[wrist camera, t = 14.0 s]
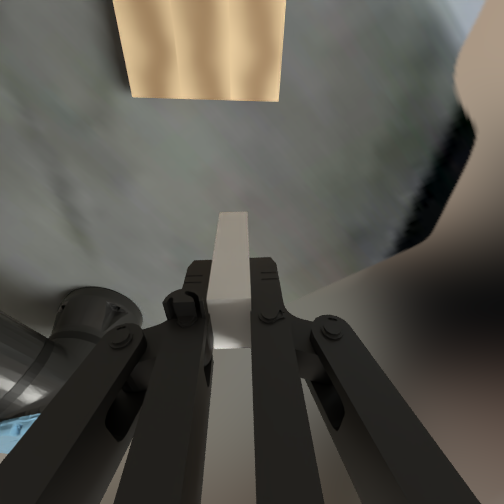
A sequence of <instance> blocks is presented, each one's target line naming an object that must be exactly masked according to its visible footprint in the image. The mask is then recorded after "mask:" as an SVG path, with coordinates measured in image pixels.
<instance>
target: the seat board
mask: <svg viewBox="0 0 504 504" xmlns="http://www.w3.org/2000/svg"><path fill="white" fill-rule="evenodd" d="M113 5H114V10H115V15H116V19H117V24H118V29H119V34H120V39H121V44H122V49H123V54H124V58H125V63H126V68H127V73H128V78H129V83H130V88H131V93H132V97H143V98H176V99H209V100H241V101H274V102H278V100H279V87H280V74H281V60H282V47H283V34H284V21H285V7H286V0H113Z"/></svg>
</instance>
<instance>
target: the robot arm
mask: <svg viewBox="0 0 504 504" xmlns="http://www.w3.org/2000/svg"><path fill="white" fill-rule="evenodd" d="M163 307H164V310H165V313H166V317H167V321H165V322H163V323H161V324H159V325H156V326H153V327H150V328H146V329H143V330H142V329H141V325H142V321H143V319H142V314H141V312H140V310H139V308H138V307H137V306H136V305H135V304H134V303H133V302H132V301H131V300H130V299H128V298H127V297H125V296H123V295H121V294H119V293H117V292H115V291H112V290H108V289H104V288H97V287H87V288H81V289H77V290H75V291H73V292H71V293H70V294H69V295H68V296H67V297H66V298H65V300H64V301H63V302H62V303H61V305H60V307H59V309H58V313H57V316H56V320H55V323H54V327H53V330H52V334H51V336H50V337H49V338H46V337H45V336H43V335H41V334H39V333H38V332H36V331H34V330H32V329H31V328H29V327H27V326H25V325H24V324H22V323H20V322H18V321H17V320H15V319H13V318H12V317H10V316H8V315H7V314H5V313H3V312H2V311H0V453H6V454H8V455H7V456H6V457H5V459H4V460H3V461H2V462H1V464H0V504H100V502H101V500H102V498H103V496H104V494H105V492H106V490H107V488H108V486H109V484H110V482H111V480H112V478H113V476H114V474H115V472H116V470H117V468H118V466H119V464H120V462H121V460H122V458H123V456H124V454H125V452H126V450H127V448H128V446H129V444H130V442H131V440H132V442H131V446H130V449H129V453H128V456H127V460H126V463H125V466H124V470H123V473H122V476H121V480H120V483H119V487H118V490H117V493H116V497H115V500H114V504H201V494H202V484H203V472H204V461H205V451H206V440H207V439H206V438H207V429H208V418H209V407H210V397H211V385H212V375H213V363H214V362H213V355H212V352H213V344H214V349H228V348H251V352H252V353H251V355H252V386H253V414H254V444H255V476H256V504H324V499H323V494H322V489H321V484H320V478H319V473H318V468H317V463H316V457H315V453H314V447H313V442H312V436H311V431H310V426H309V421H308V415H307V410H306V405H305V400H304V394H303V389H302V384H301V379H300V378H304V379H305V381H306V383H307V385H308V387H309V389H310V392H311V394H312V396H313V398H314V400H315V402H316V405H317V407H318V409H319V411H320V413H321V415H322V418H323V420H324V422H325V424H326V426H327V429H328V431H329V433H330V435H331V437H332V439H333V442H334V444H335V446H336V448H337V450H338V452H339V455H340V457H341V459H342V461H343V463H344V466H345V468H346V470H347V472H348V474H349V476H350V479H351V481H352V483H353V485H354V487H355V489H356V492H357V494H358V496H359V498H360V500H361V503H362V504H481V503H480V502H479V501H478V499H477V498H476V496H475V495H474V494H473V492H472V491H471V490H470V488H469V487H468V486H467V484H466V483H465V482H464V480H463V479H462V478H461V476H460V475H459V473H458V472H457V471H456V469H455V468H454V467H453V465H452V464H451V462H450V461H449V460H448V458H447V457H446V456H445V455H444V453H443V452H442V450H441V449H440V448H439V446H438V445H437V443H436V442H435V441H434V439H433V438H432V437H431V435H430V434H429V433H428V431H427V430H426V429H425V427H424V426H423V424H422V423H421V422H420V420H419V419H418V418H417V416H416V415H415V414H414V412H413V411H412V409H411V408H410V407H409V406H408V404H407V403H406V402H405V400H404V399H403V397H402V396H401V395H400V393H399V392H398V390H397V389H396V388H395V386H394V385H393V384H392V382H391V381H390V380H389V378H388V377H387V376H386V374H385V373H384V371H383V370H382V369H381V367H380V366H379V365H378V363H377V362H376V361H375V359H374V358H373V357H372V355H371V354H370V352H369V351H368V350H367V348H366V347H365V346H364V344H363V343H362V342H361V340H360V339H359V337H358V336H357V335H356V333H355V332H354V331H353V329H352V328H351V327H350V325H349V324H348V323H346V321H344V320H343V319H341V318H339V317H337V316H333V315H322V316H319V317H317V318H316V319H315V320H314V321H313V322H312V321H308V320H303V319H300V318H297V317H295V316H293V315H291V314H290V313H289V312H288V311H287V310H286V308H285V306H284V303H283V298H282V293H281V287H280V282H279V276H278V271H277V265H276V263H275V262H274V261H273V260H272V258H271V257H263V258H249V240H248V217H247V212H220V214H219V220H218V227H217V233H216V240H215V246H214V253H213V259H212V260H195V261H193V262H192V264H191V265H190V266H189V267H188V269H187V273H186V277H185V280H184V284H183V287H182V289H179V290H176V291H174V292H172V293H170V294H169V295H168V296H167V297H166V298H165V299H164V301H163ZM132 438H133V439H132Z"/></svg>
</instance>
